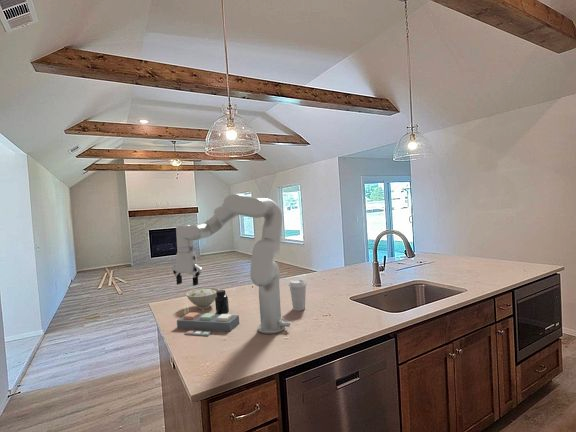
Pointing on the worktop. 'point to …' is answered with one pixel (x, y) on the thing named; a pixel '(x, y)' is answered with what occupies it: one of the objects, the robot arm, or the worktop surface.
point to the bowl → (202, 296)
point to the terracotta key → (191, 316)
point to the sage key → (207, 316)
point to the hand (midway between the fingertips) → (187, 284)
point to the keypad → (208, 323)
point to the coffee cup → (298, 294)
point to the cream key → (224, 317)
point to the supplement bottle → (221, 302)
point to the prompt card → (198, 333)
